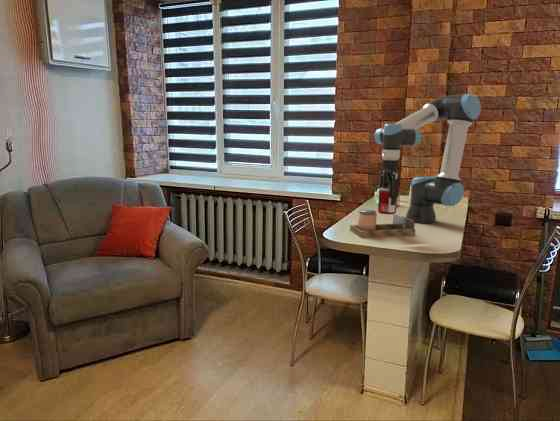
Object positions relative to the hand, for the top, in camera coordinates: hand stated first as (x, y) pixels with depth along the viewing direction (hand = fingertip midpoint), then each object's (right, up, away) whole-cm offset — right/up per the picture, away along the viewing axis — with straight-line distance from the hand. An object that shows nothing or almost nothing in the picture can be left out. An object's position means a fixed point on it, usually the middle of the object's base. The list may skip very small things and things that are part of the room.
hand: (387, 210), depth 195 cm
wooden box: (-2, -11, +2) cm, 11 cm away
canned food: (0, -1, 0) cm, 1 cm away
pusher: (+7, -10, +3) cm, 13 cm away
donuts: (+18, +3, +80) cm, 82 cm away
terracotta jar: (-9, -10, 0) cm, 14 cm away
